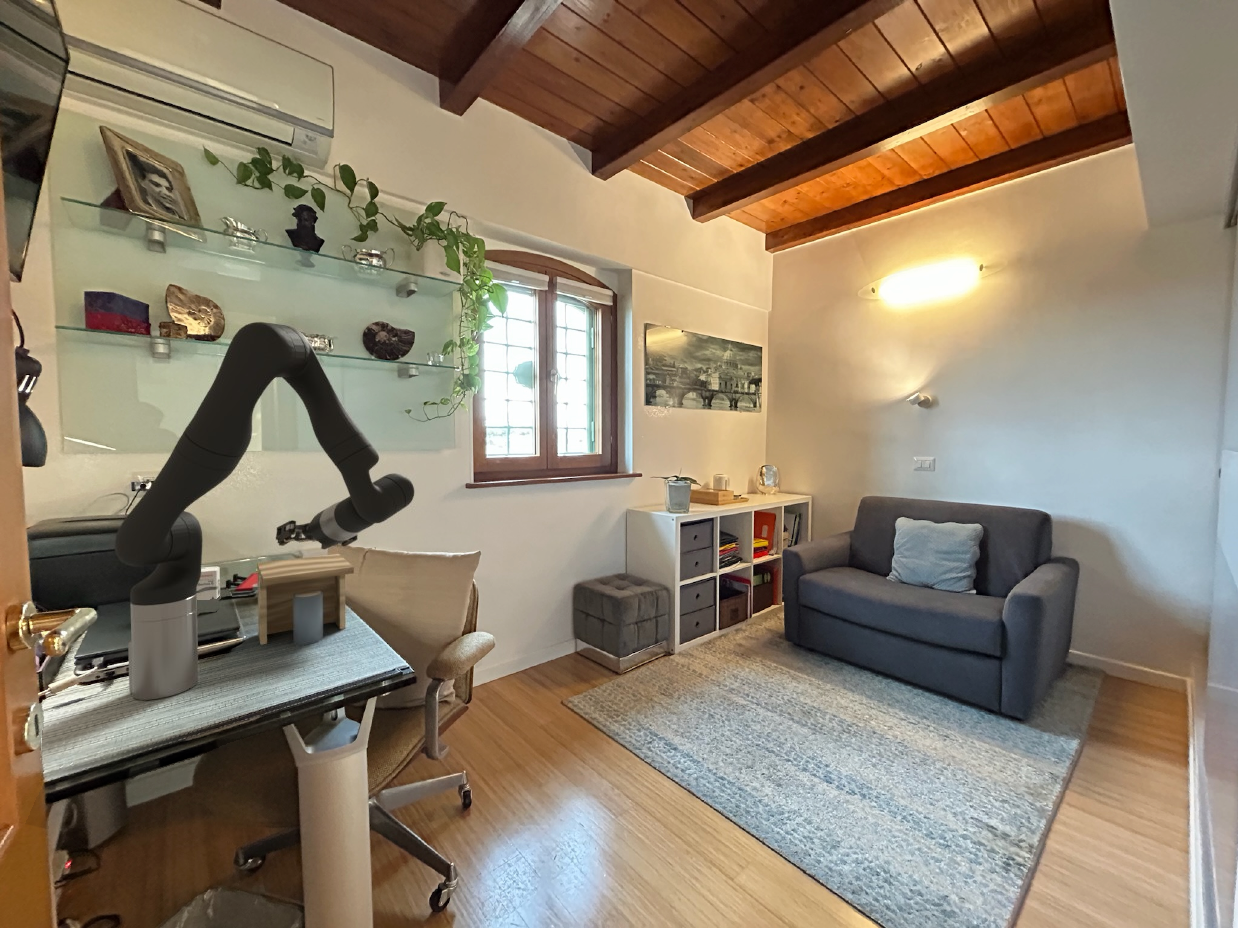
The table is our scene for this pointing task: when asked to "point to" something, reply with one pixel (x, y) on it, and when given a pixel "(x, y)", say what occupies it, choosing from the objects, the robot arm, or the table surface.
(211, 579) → the ink box
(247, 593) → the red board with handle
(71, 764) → the table surface
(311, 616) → the tumbler
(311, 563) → the wooden step stool
